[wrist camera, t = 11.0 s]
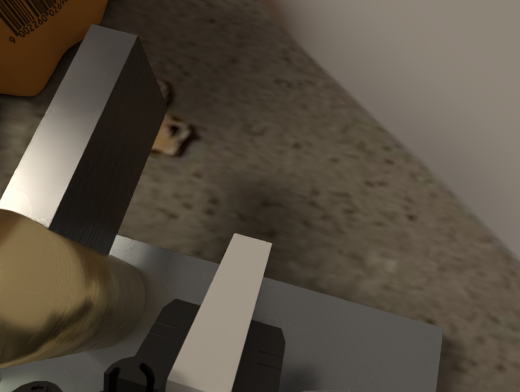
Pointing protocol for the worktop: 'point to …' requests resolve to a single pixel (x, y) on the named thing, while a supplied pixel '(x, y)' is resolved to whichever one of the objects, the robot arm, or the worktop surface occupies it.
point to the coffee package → (40, 39)
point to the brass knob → (328, 391)
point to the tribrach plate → (272, 313)
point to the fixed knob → (78, 207)
